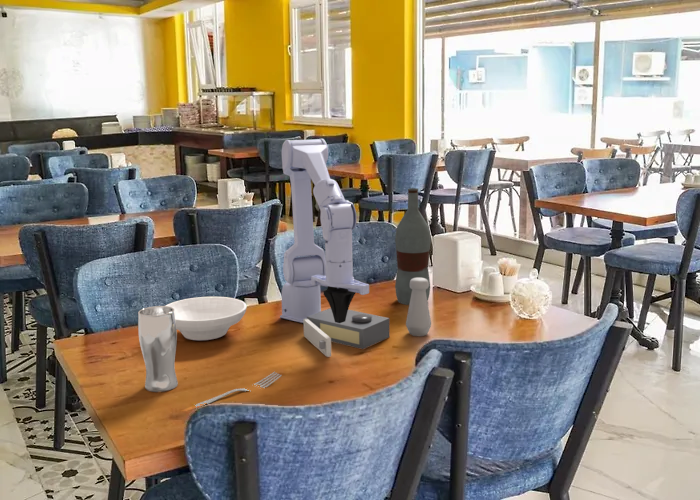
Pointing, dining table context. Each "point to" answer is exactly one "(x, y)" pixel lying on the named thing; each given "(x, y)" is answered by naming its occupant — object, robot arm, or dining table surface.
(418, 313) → the salt shaker
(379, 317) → the camera housing
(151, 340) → the beer glass
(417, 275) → the bottle
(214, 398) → the fork
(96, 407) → the dining table surface
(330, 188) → the robot arm
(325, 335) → the door
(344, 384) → the dining table surface
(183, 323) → the bowl
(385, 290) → the dining table surface
